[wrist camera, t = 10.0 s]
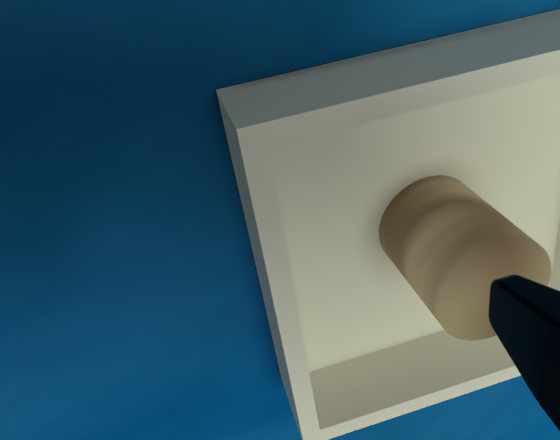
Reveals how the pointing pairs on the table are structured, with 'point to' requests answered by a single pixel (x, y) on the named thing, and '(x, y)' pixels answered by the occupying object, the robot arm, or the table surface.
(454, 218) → the wooden cylinder
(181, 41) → the table surface
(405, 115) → the gray and white box
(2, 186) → the table surface
